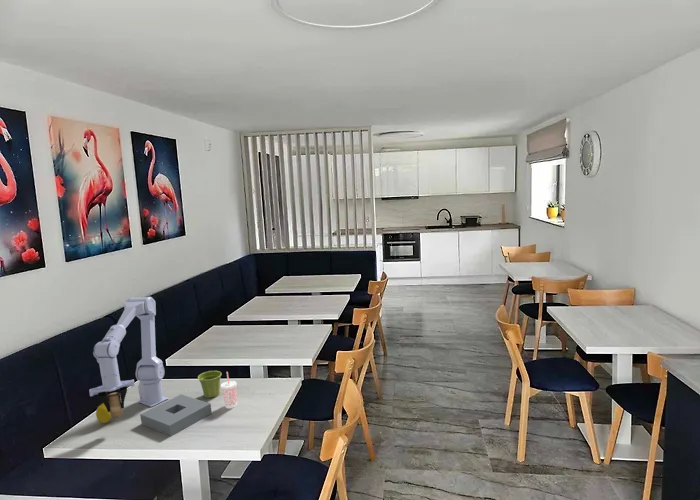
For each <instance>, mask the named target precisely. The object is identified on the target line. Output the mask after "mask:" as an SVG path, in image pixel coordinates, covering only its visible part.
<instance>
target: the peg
mask: <svg viewBox="0 0 700 500" xmlns="http://www.w3.org/2000/svg"><path fill="white" fill-rule="evenodd" d="M107 397H108V403H109V408H110V414H111V419H116V418H117V419H118V418H120V417H122V416H123V415H124V411H123V409H122V406H121V397H120V391H118V392H117V391H116V392H112V393H111V392H110V393H109V394H107Z"/></svg>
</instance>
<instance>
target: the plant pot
mask: <svg viewBox="0 0 700 500" xmlns="http://www.w3.org/2000/svg"><path fill="white" fill-rule="evenodd" d="M221 376H222V372H221V371H219V370H208V371H205V372H202V373H200V374H199V375H198V376H197V379H198V381H199V382H200V385H201V388H202V392H203V396H204V397H205V398H206V399H209V398H216V397H218V396H219V395H220V391H221V390H220V389H221V378H222V377H221Z"/></svg>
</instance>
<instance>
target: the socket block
mask: <svg viewBox="0 0 700 500" xmlns="http://www.w3.org/2000/svg"><path fill="white" fill-rule="evenodd" d="M211 414H213V412H212V404H211V403H209V402H207V401H203V400H200V399H197V398H194V397H191V396H188V395H184V394H178V395H177V396H175V397H173V398H171V399H168V400H165V402H164V401H163V402H161V403H159V404H157V406H156V405H155V406H153V407H152V408H150V409H148V410H146V411H144V412H142V413H140V420H141V425H142V426H145V427H147V428H150V429H152V430H155V431H157V432H160V433H162V434H165V435H167V436H170V437H173V436H174V435H176V434H178V433H180V432H181V431H183V430H185V429H187V428H189V427H190V426H192V425H193V424H195V423H197V422H199V421H201V420H202V419H205V418H207V417H208V416H210V415H211Z"/></svg>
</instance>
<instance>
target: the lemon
mask: <svg viewBox="0 0 700 500" xmlns="http://www.w3.org/2000/svg"><path fill="white" fill-rule="evenodd" d="M95 416H96V419H97V421H98V422H99V423H104V424H107V423H108V422H109V421H110V420H112V418H111V414H110V412H108V411H107V409H106V407H105V405H104V403H103V402H101V404H100V405H99V406H97V409H96V412H95Z"/></svg>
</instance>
